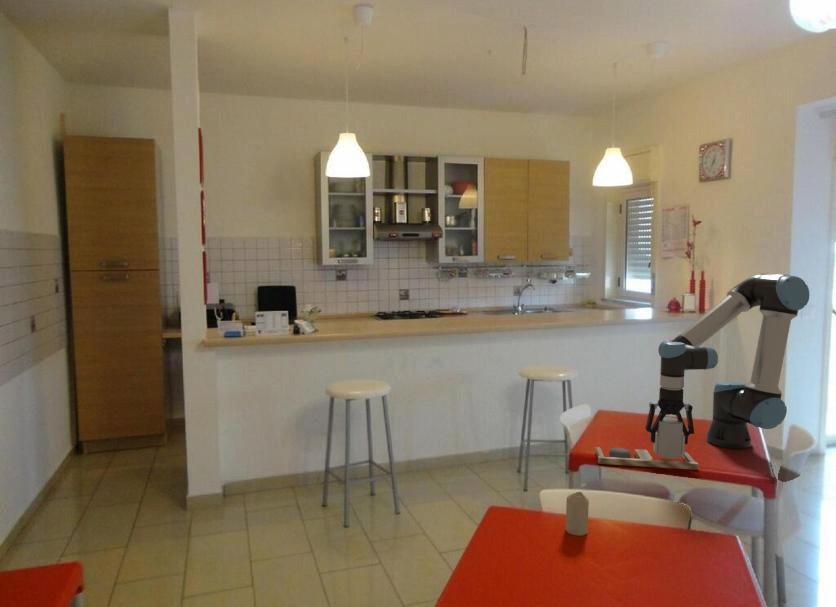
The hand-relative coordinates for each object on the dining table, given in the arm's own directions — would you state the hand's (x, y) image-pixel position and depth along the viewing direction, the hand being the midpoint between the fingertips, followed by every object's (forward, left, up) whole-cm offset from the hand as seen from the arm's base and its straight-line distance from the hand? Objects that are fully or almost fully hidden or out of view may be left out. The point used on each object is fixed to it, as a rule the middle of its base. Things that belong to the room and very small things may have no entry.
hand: (668, 452), depth 207 cm
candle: (+37, +58, -3) cm, 69 cm away
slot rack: (+8, +1, -3) cm, 9 cm away
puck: (+16, 0, -3) cm, 16 cm away
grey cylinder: (0, 0, -1) cm, 1 cm away
